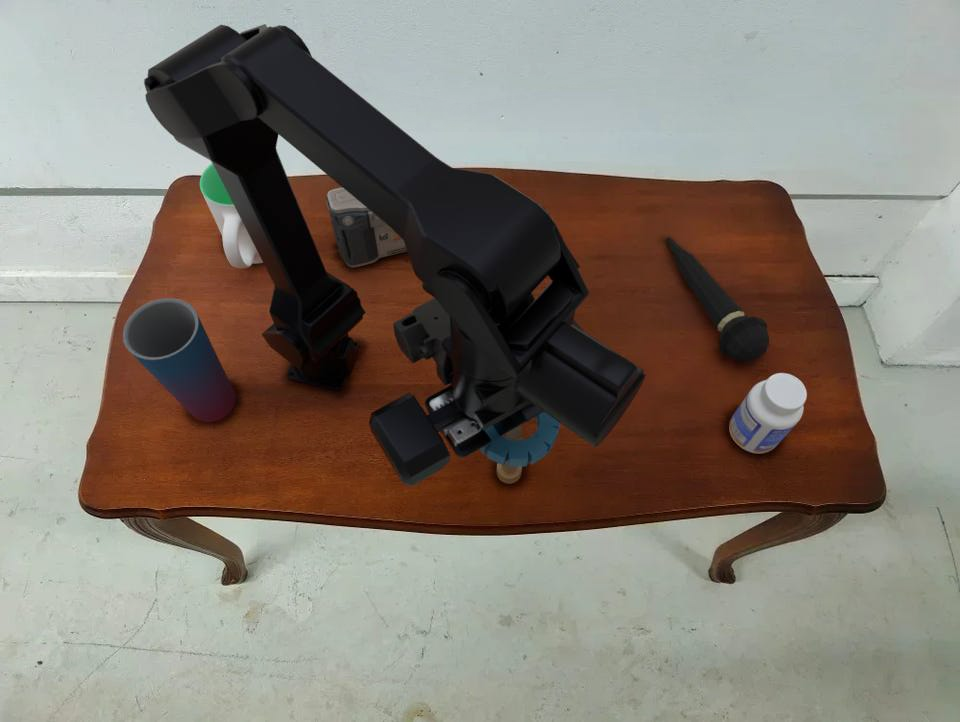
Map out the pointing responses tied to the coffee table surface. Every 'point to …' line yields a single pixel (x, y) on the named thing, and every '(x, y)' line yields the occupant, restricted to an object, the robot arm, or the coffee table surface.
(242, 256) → the mug
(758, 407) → the pill bottle
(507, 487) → the coffee table surface
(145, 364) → the cup
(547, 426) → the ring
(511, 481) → the beige peg
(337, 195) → the camera
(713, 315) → the microphone
